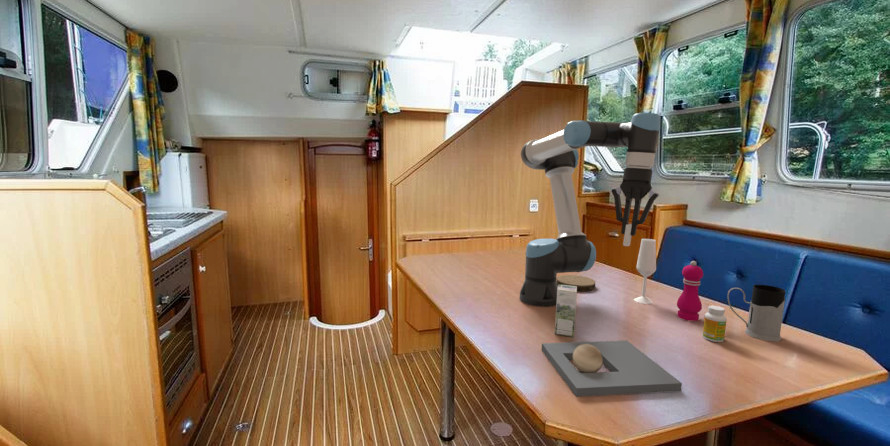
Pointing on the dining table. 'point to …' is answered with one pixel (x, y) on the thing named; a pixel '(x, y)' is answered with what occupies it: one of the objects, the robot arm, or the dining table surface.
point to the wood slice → (577, 282)
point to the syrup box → (565, 310)
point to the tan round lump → (587, 358)
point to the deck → (621, 359)
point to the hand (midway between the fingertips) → (626, 245)
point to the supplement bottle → (714, 324)
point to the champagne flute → (646, 265)
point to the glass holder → (764, 312)
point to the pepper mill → (690, 293)
